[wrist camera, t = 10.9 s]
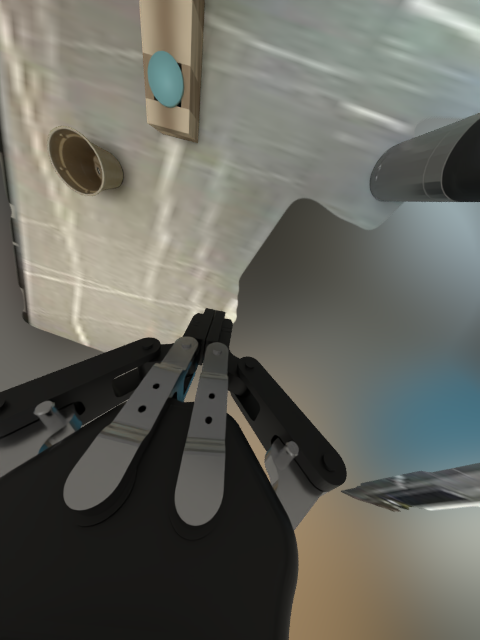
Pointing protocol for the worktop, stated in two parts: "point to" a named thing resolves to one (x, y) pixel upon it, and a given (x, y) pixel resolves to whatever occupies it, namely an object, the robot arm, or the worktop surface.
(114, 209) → the worktop surface
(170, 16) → the oak block
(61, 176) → the flower pot
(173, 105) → the teal peg
